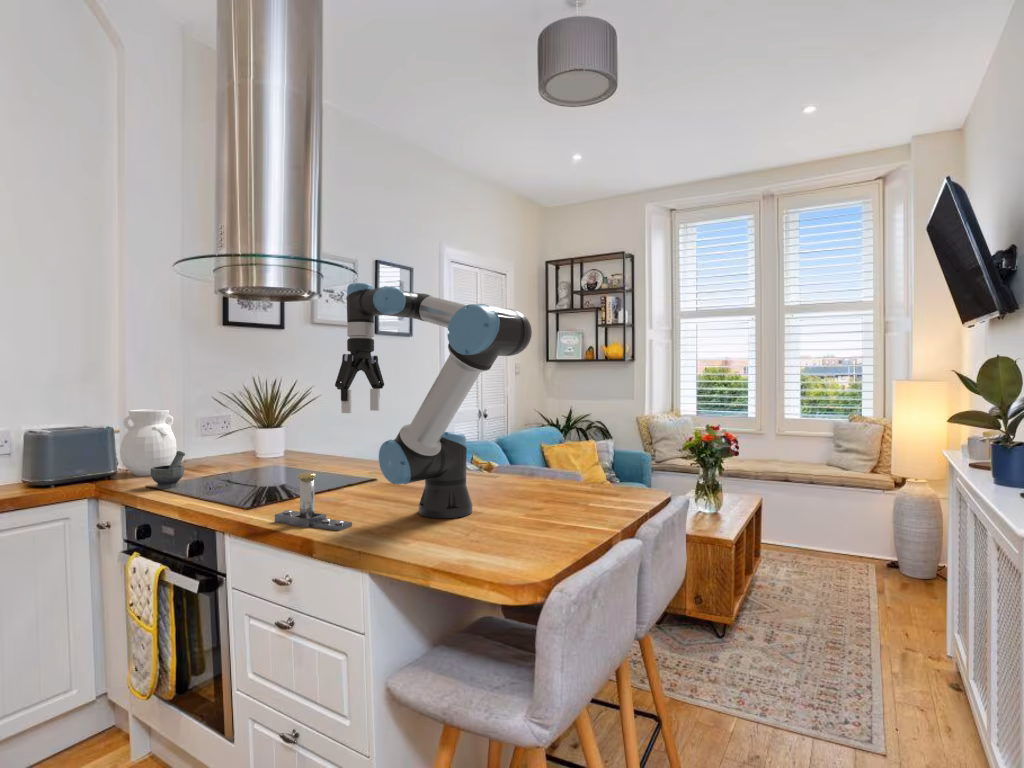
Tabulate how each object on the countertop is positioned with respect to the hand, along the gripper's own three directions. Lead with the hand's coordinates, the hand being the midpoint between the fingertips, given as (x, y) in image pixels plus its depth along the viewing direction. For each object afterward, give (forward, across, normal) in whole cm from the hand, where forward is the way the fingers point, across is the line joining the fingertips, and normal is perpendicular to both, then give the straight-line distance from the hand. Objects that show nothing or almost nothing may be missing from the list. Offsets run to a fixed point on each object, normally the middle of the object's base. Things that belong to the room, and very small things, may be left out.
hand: (361, 411), depth 162 cm
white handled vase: (+27, -19, -112) cm, 117 cm away
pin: (+28, +18, -4) cm, 34 cm away
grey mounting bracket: (+28, +18, -3) cm, 33 cm away
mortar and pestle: (+28, -4, -81) cm, 86 cm away
